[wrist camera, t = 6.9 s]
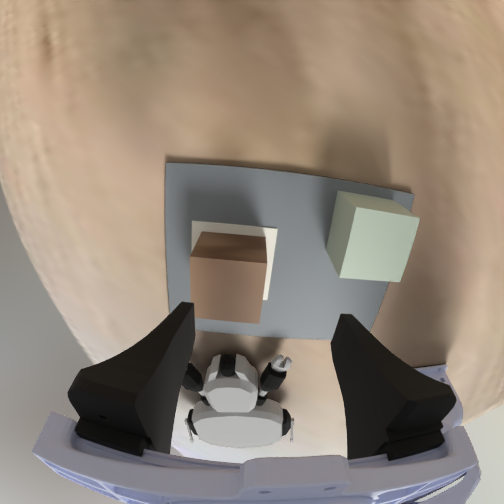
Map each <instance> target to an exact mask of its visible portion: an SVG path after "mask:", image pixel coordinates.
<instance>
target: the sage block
mask: <svg viewBox="0 0 504 504" xmlns="http://www.w3.org/2000/svg"><path fill="white" fill-rule="evenodd" d="M419 221H420V218H419V217H417V216H416V215H415V214H413V213H412V212H410V211H409V210H407V209H406V208H404V207H403V206H401V205H400V204H398V203H397V202H395V201H394V200H389V199H384V198H379V197H373V196H368V195H362V194H356V193H350V192H344V191H337V197H336V202H335V207H334V212H333V218H332V223H331V228H330V232H329V237H328V242H327V246H326V252H327V254H328V256H329V258H330V260H331V262H332V264H333V266H334V268H335V270H336V272H337V274H338V276H339V278H349V279H362V280H376V281H390V282H400V281H401V278H402V275H403V272H404V270H405V267H406V264H407V261H408V258H409V255H410V251H411V248H412V245H413V242H414V238H415V235H416V232H417V228H418V225H419Z"/></svg>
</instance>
